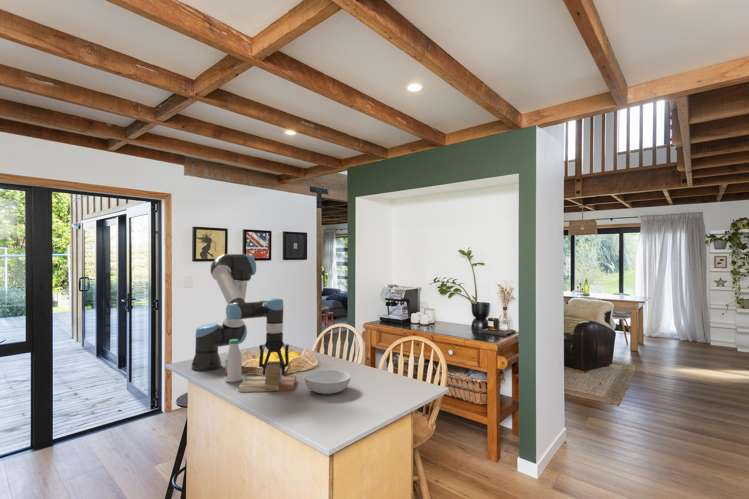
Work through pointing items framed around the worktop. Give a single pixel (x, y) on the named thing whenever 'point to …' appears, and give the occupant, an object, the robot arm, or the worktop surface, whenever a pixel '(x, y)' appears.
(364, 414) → the worktop surface
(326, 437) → the worktop surface
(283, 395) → the worktop surface
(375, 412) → the worktop surface
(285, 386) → the maple board
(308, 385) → the serving bowl
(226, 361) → the milk bottle
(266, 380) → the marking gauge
